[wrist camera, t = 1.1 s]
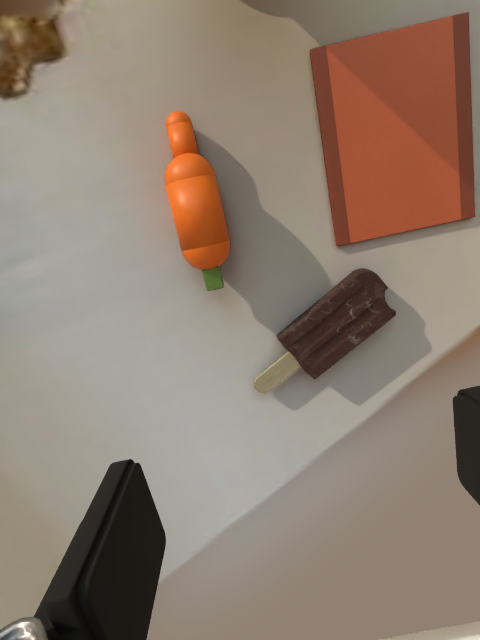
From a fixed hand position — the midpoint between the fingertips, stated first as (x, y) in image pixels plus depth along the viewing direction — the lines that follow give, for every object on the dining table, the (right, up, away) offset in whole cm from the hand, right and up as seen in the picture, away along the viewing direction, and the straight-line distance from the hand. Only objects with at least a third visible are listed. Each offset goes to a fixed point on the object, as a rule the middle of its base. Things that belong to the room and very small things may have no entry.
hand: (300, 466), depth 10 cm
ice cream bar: (+5, +3, +23) cm, 24 cm away
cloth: (+11, +19, +18) cm, 29 cm away
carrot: (-5, +13, +20) cm, 24 cm away
